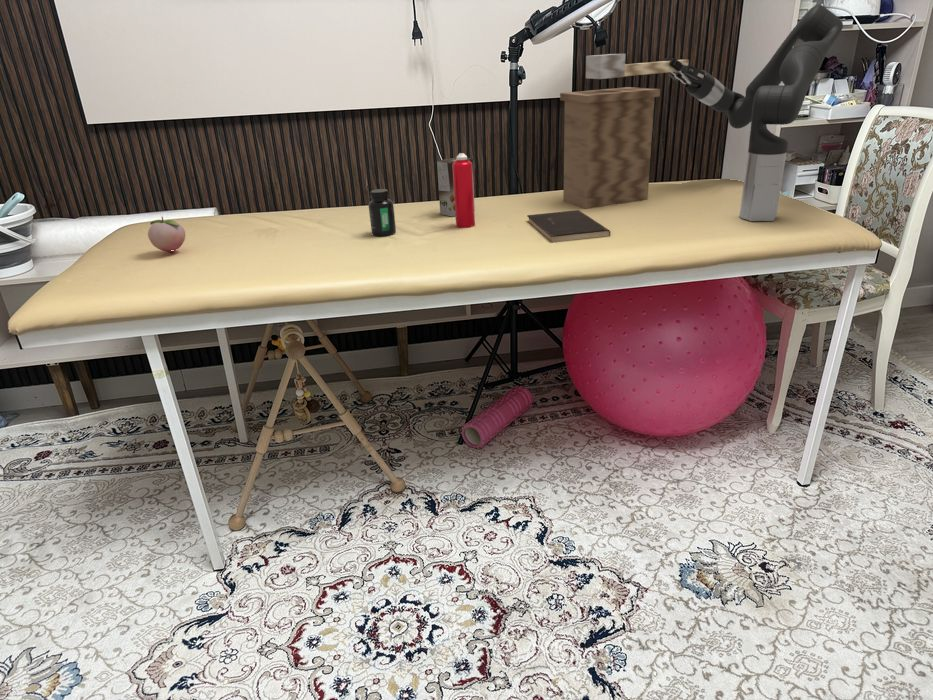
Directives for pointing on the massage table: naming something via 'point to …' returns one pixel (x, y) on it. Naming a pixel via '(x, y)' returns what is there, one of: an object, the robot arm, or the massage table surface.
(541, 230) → the hardcover book
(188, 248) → the massage table surface
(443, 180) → the coffee box
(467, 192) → the bottle
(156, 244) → the decorative fruit
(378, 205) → the supplement bottle
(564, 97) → the plinth
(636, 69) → the bar
